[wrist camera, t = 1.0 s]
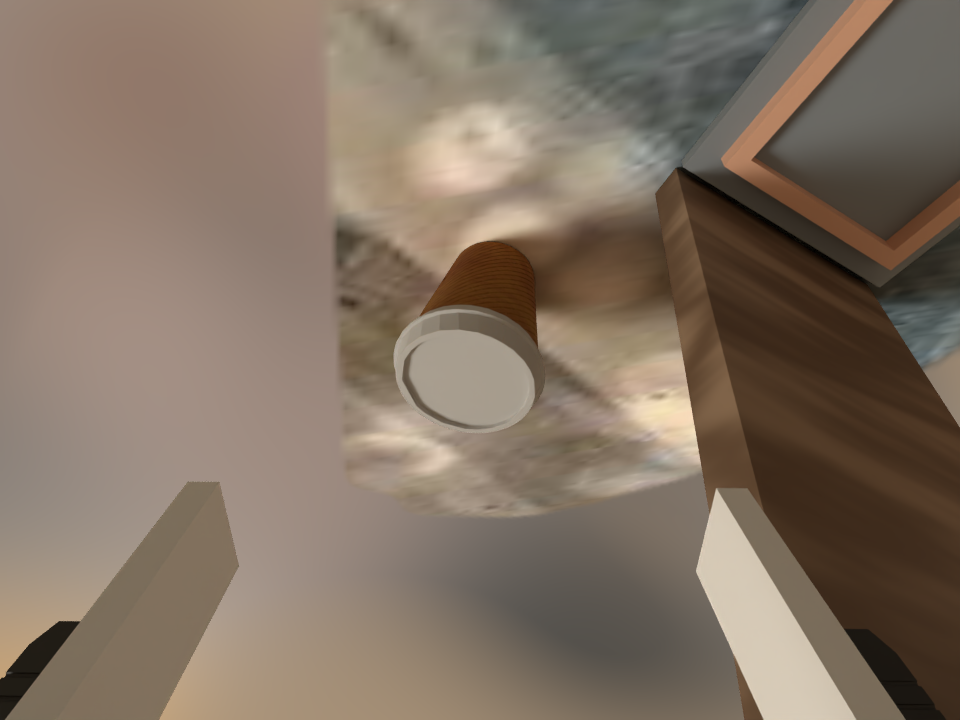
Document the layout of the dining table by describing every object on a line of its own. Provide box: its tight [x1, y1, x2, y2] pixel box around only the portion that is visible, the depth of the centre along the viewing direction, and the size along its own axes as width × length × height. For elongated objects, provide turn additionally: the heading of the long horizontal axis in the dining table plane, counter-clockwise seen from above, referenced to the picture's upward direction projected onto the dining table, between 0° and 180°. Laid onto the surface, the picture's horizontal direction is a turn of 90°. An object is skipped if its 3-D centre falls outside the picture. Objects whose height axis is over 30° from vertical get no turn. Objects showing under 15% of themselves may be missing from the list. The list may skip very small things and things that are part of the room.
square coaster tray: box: [682, 0, 960, 288], centre depth 30 cm, size 16×16×2 cm
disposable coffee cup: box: [394, 242, 545, 433], centre depth 38 cm, size 10×10×12 cm
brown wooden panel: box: [655, 168, 960, 720], centre depth 24 cm, size 4×16×32 cm, turn 63°
